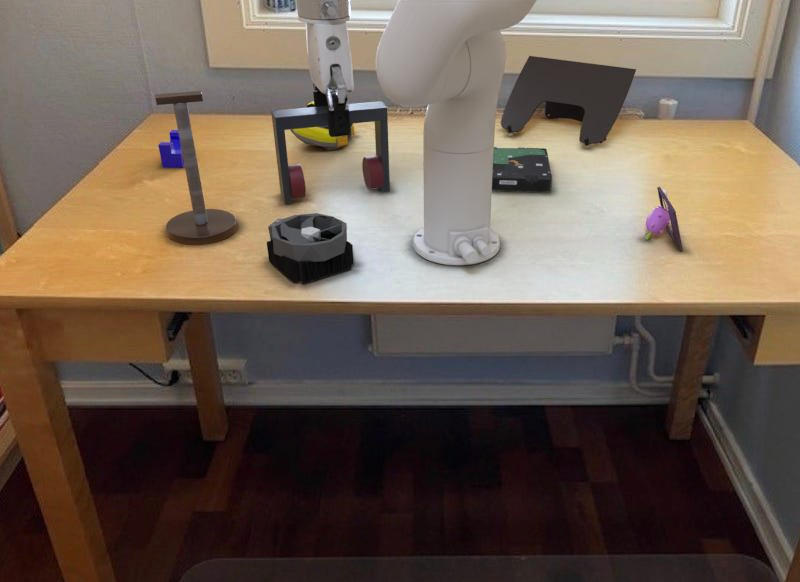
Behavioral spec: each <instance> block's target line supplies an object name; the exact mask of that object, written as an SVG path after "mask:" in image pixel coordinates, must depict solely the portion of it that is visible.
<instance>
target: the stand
mask: <svg viewBox="0 0 800 582" xmlns="http://www.w3.org/2000/svg"><path fill="white" fill-rule="evenodd" d="M154 99H155V103H156V106H163V105H172V106H173V110H174V111H173V112H174V116H175V121H176V127H177V130H178V133H179V138H180V144H181V149H182V155H183V160H184V171H185V176H186V181H187V186H188V187H187V188H188V192H189V197H190V204H191V209H192V210H188V211H184V212H182V213H179V214H177V215H175V216H173V217H171V218H170V219H169V220H168V221H167V223H166V225H165V230H166V234H167V237H168V238H169V239H170V240H172V241H173V242H176V243H178V244H181V245H188V246H189V245H190V246H201V245H208V244H215V243H218V242H221V241H224V240H226V239H228V238H230V237H231V236H233V235H234V234H236V232H237V230H238V222H237V218H236V216H235V215H234V214H233V213H231V212H229V211H227V210H224V209H217V208H206V205H205V197H204V193H203V186H202V181H201V175H200V169H199V163H198V158H197V151H196V147H195V141H194V135H193V128H192V123H191V118H190V112H189V107H188V103H198V102H199V103H200V102H204V97H203V93H202V91H201V90H198V91H197V90H196V91H195V90H194V91H181V92H169V93H158V94H156V93H155V94H154Z"/></svg>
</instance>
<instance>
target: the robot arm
mask: <svg viewBox="0 0 800 582" xmlns="http://www.w3.org/2000/svg"><path fill="white" fill-rule="evenodd" d="M536 2H537V0H397V3H396V5H395V7H394V9H393V10H392V13H391V15H390V18H389V19H388V21H387V24H386V26H385V28H384V29H383V33H382V34H381V37H380V40H379V43H378V46H377V51H376V56H375V57H376V58H375V72H376V76H377V82H378V84H379V86H380V89H381V90H382V92H383V94H384V95H385V96H386V97H387V99H388V100H390V101H391V102H393V103H394V104H396V105H398V106H400V107H403V108H404V107H405V108H420V107H425V106H427V107H426V111H425V115H424V120H423V121H424V122H423V131H422V132H423V134H422V135H423V136H422V137H423V138H422V139H423V145H422V146H423V152H422V153H423V154H422V155H423V156H422V157H423V227H421V228H420V229H419V230H418V231H416V232H415V234H414V235H413V239H412V247H413V250H414V251H415V252H416V253H417V255H418V256H419V257H421V258H423V259H425V260H428V261H429V262H433V263H436V264H441V265H445V266H447V265H448V266H471V265H475V264H480V263H483V262H487V261H488V260H490V259H492V258H493V257H494V256H496V255H497V254H498V253H499V251H500V248H501V239H500V236H499V235H498V233H497V232H496V231H494V230H493V229H491V213H492V194H493V193H492V192H493V190H492V174H493V152H494V147H495V136H496V135H495V134H496V117H497V108H498V100H499V96H500V91H501V87H502V83H503V78H504V73H505V68H506V61H507V49H506V43H505V39H504V36H503V34H502V30H505V29H508V28H512V27H514V26H516V25H517V24H519V23H521V22H522V21H523V20H524V19H525V18H526V17H527V15H528V14H529V13H530V12H531V10H532V8H533V7H534V5H535V4H536ZM296 8H297V9H296V10H297V20H298V21H300V22H302V23H305V36H306V37H305V38H306V50H307V51H306V52H307V62H308V68H309V69H308V70H309V71H308V72H309V77H310V79H311V81H312V88H313V91H312V95H313V102H314V107H320V106H329V110H327V116H328V129H329V135H330V136H331V137H338V136H348V135H350V118H349V105H348V104H349V98H348V95H347V92H348V93H353V92H354V89H355V84H354V83H355V82H354V72H353V63H352V53H351V45H350V37H349V31H348V26H347V22H349V21H350V20H351V18H352V17H351V0H296Z"/></svg>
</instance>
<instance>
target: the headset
mask: <svg viewBox="0 0 800 582" xmlns="http://www.w3.org/2000/svg"><path fill="white" fill-rule="evenodd" d="M348 105H349V118H350V124H352V123H353V124H361V123H362V124H363V123H371V122H374V139H375V142H374V143H375V155H370V156H363V158H362V161H361V165H362V166H361V167H362V174H363V180H364V184H365V186H366V188H367V189H368V190H374V189H380V190H381V192H382V193H384V194H385V193H390V192H391V186H390V185H391V184H390V183H391V182H390V179H391V178H390V149H389V121H388V107H387V106H386V105H385V103H384V102H382V101H381V100H380V101H379V100H378V101H377V100H376V101H367V102H356V103H355V102H354V103H348ZM327 110H329V106H320V107H309V108H306V107H299V108H297V107H296V108H288V109H287V108H286V109H275V110H271V111H270V114H271V122H272V130H273V139H274V140H273V141H274V147H275V157H276V165H277V173H278V183H279V191H280V197H281V199H282V201H283V203H284V205H285V206H287V205H293V199H301V198H306V194H307V190H306V189H307V187H306V181H305V174H304V171H303V168H302V165H301V164H300V163H297V164H296V163H295V164H289V158H288V149H287V140H286V131H288V130H290V129H300V128H311V127H321V126H328V116H327Z"/></svg>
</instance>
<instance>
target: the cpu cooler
mask: <svg viewBox="0 0 800 582" xmlns="http://www.w3.org/2000/svg"><path fill="white" fill-rule="evenodd" d="M267 229H268V236H269V239H270V240H268V241H266V248H267V249H266V250H267V255H268V262H269V263H270V264H271V265H272V266H273V267H274V268H276V269H277V270H278V271H279V272H280V273H281V274H283V275H284V276H285V278H287V279H288V280H290V281H291V282H292V283H293V284H295V283H299V282H301V284H303V285H304V284H305V285H306V284H307V283H311V282H314V281H317V280H319V279H323V278H326V277H329V276H332V275H333V276H334V275H336V274H339V273H343V272H346V271H350V270H352V266H354V265H355V263H354V261H355V260H354V247H353V244H352V243H351V242H349V241H348V226H347V222H345V221H343V220H341V219H339V218H337V217H335V216H332V215H328V214H323V213H318V212H313V213H302V214H294V215H290V216H287V217H285V218H277V219H276V220H274V221H273V222H272V223H271V224H269V225H268V226H267Z"/></svg>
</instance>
